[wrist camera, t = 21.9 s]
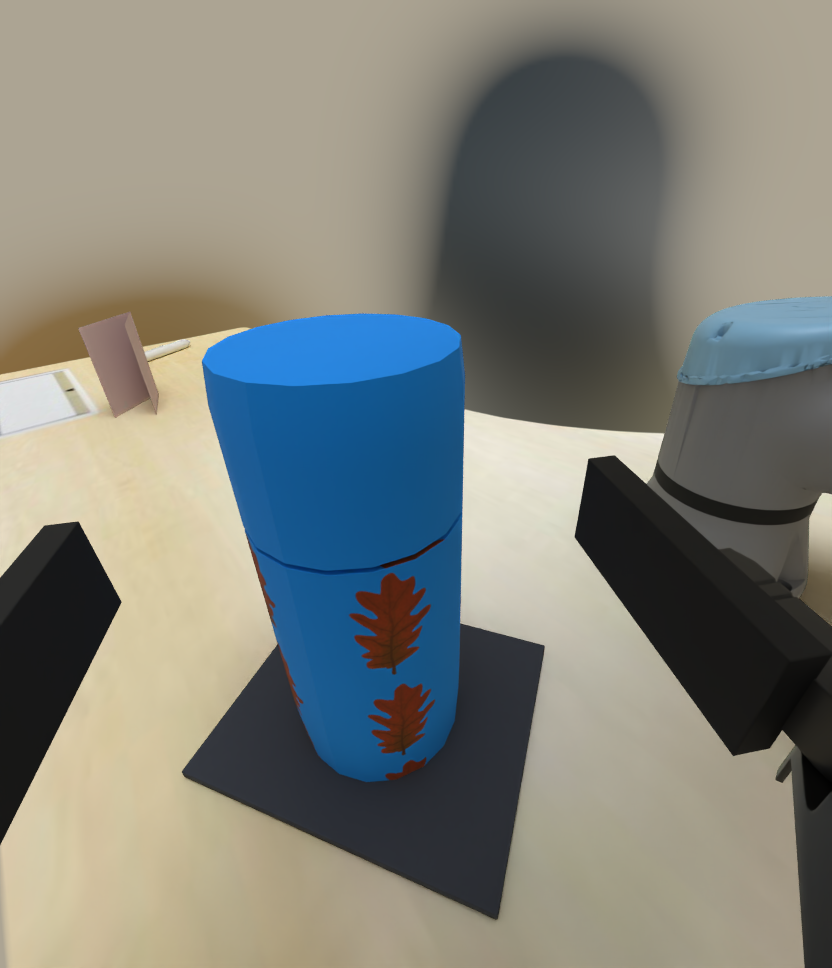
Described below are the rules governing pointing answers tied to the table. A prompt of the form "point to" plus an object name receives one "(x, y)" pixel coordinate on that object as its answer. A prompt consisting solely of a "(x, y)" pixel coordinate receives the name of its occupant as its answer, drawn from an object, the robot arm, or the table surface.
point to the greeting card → (120, 362)
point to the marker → (166, 349)
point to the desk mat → (408, 800)
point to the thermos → (353, 521)
